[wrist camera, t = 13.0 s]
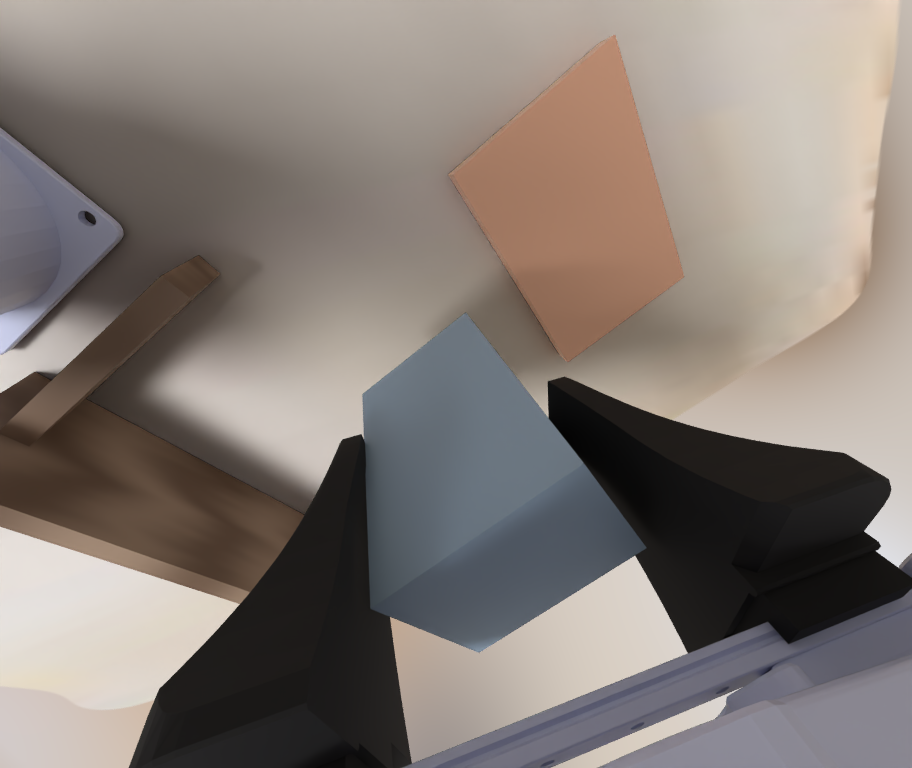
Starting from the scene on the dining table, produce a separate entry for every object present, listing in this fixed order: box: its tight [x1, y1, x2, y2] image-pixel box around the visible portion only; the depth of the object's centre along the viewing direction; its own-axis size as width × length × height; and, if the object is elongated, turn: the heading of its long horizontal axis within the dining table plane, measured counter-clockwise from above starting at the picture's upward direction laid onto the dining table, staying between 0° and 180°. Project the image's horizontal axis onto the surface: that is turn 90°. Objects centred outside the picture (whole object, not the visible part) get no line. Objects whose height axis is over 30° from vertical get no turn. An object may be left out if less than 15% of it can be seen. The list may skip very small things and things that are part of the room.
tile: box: [448, 35, 684, 362], centre depth 18 cm, size 12×8×1 cm, turn 36°
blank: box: [362, 313, 646, 652], centre depth 11 cm, size 4×5×8 cm
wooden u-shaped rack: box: [0, 255, 304, 604], centre depth 18 cm, size 20×10×6 cm, turn 36°
